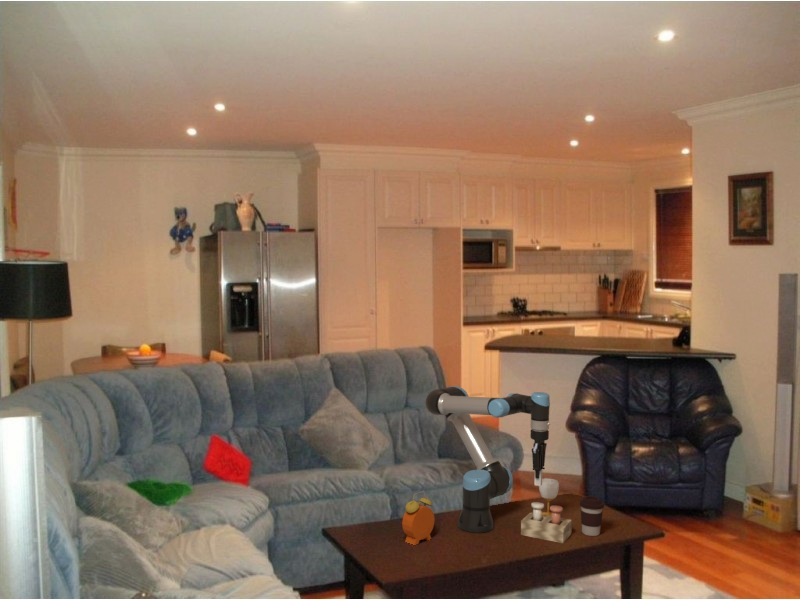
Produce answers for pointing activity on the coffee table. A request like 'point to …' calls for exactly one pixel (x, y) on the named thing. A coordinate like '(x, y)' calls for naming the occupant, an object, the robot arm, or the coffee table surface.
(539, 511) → the ivory plug
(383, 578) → the coffee table surface
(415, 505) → the alarm clock
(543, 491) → the cup
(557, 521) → the terracotta plug
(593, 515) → the coffee cup
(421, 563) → the coffee table surface
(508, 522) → the coffee table surface
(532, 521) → the beech block
